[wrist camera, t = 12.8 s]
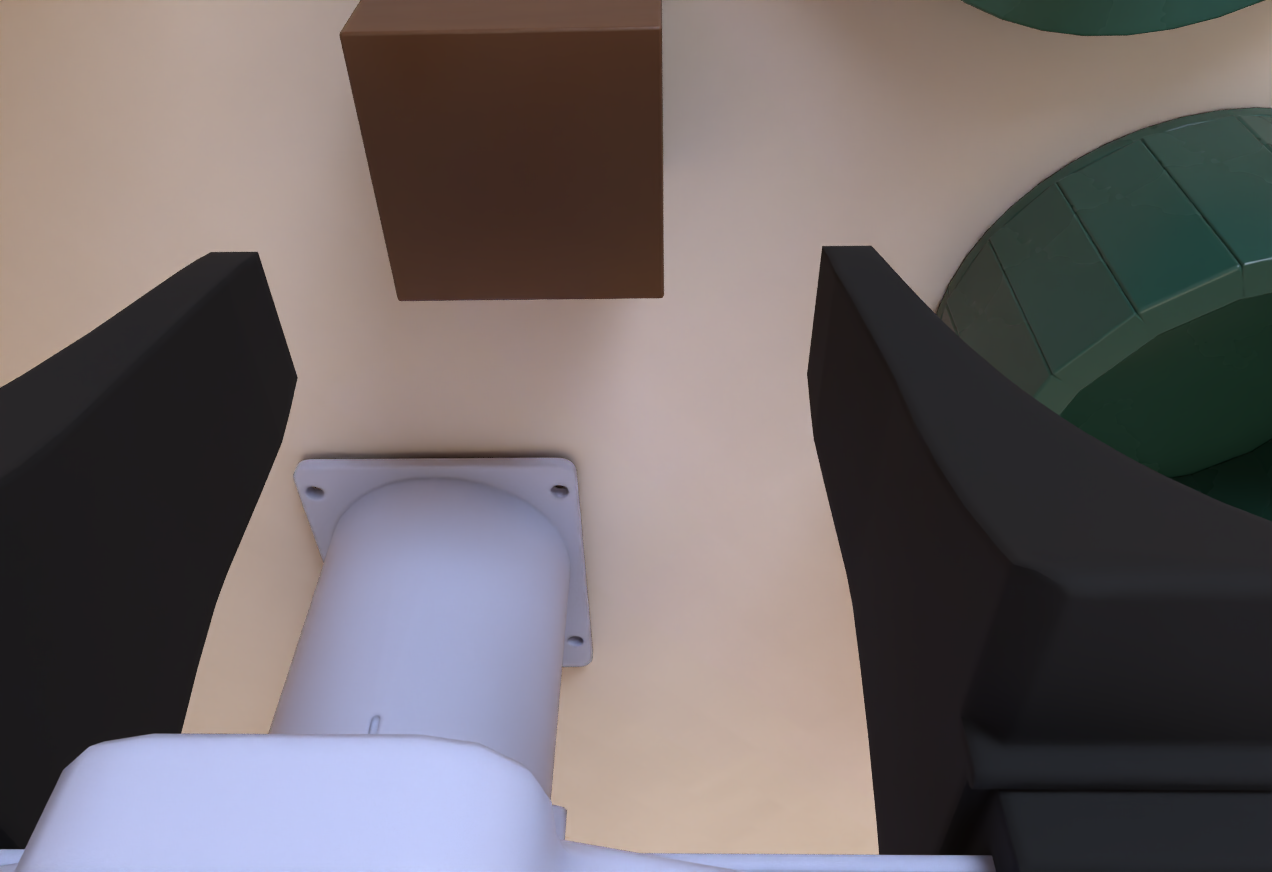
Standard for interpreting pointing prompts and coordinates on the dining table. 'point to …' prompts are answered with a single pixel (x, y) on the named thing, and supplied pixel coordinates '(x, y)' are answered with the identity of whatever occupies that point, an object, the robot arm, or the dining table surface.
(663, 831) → the dining table surface
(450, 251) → the block
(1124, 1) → the lid
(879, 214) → the dining table surface
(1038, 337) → the tin
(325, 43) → the dining table surface
